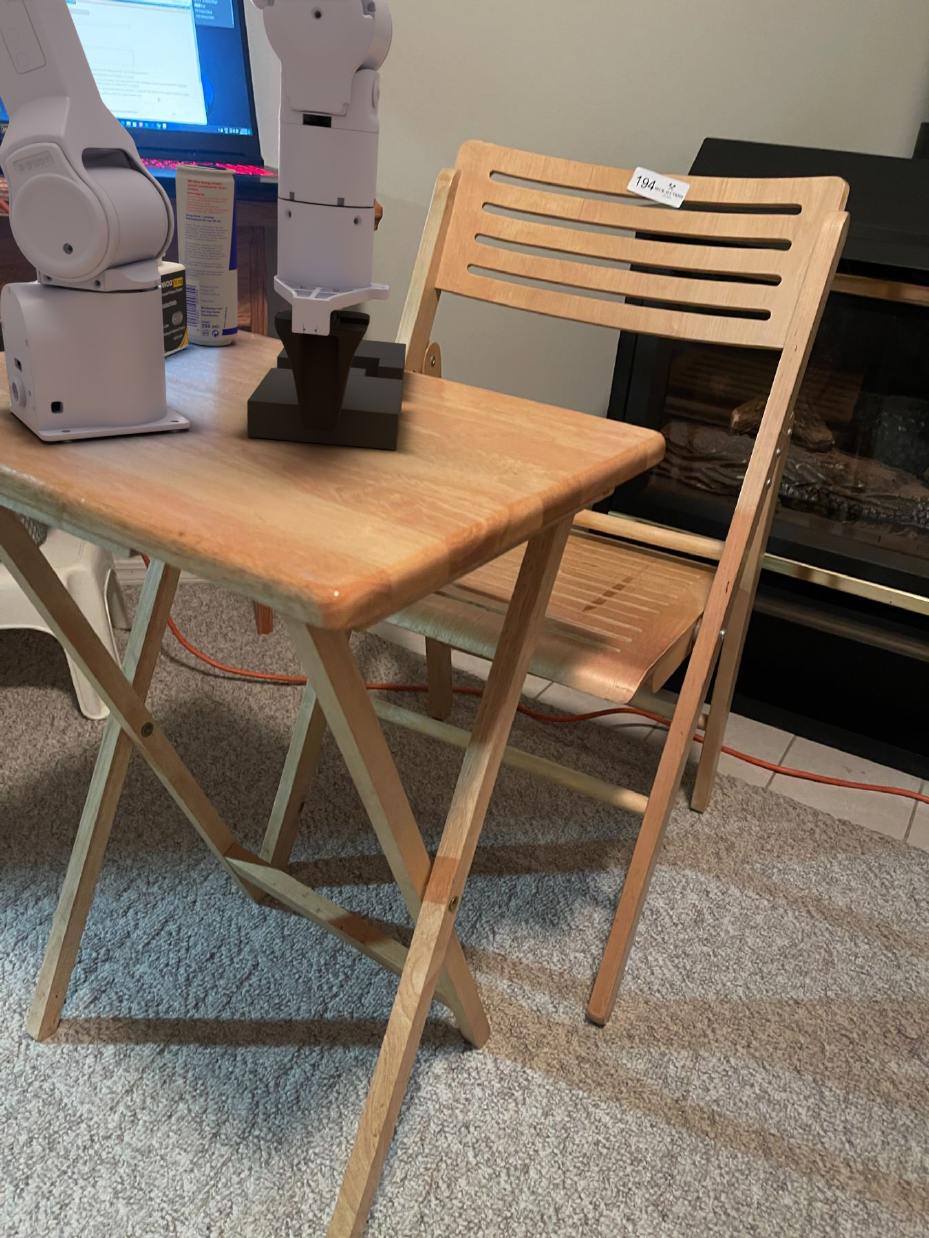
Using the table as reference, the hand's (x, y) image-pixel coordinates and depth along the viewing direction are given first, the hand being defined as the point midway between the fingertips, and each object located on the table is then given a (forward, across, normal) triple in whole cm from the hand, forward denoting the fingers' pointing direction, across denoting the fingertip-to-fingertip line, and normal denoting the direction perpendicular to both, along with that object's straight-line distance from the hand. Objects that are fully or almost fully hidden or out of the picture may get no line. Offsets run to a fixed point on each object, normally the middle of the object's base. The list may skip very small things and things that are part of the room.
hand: (320, 427), depth 62 cm
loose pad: (+1, +7, 0) cm, 7 cm away
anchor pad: (+1, +20, 0) cm, 20 cm away
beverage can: (+2, +30, +14) cm, 33 cm away
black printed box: (+2, +24, +19) cm, 30 cm away
